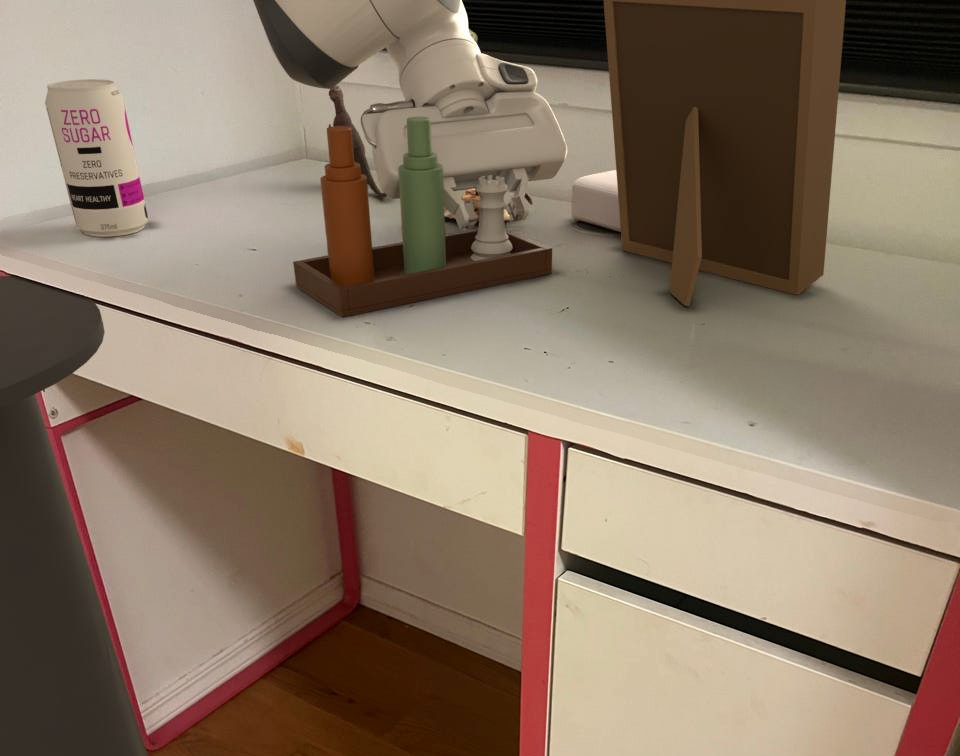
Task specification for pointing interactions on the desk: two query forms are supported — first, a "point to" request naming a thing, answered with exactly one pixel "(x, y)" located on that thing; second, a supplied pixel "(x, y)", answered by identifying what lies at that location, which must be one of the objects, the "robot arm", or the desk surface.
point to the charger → (597, 200)
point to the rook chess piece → (491, 220)
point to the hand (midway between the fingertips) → (495, 221)
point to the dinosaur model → (358, 146)
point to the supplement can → (97, 156)
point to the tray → (422, 274)
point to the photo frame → (726, 135)
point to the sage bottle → (421, 201)
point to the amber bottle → (346, 212)
